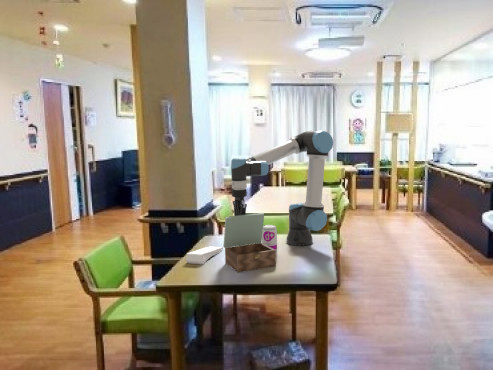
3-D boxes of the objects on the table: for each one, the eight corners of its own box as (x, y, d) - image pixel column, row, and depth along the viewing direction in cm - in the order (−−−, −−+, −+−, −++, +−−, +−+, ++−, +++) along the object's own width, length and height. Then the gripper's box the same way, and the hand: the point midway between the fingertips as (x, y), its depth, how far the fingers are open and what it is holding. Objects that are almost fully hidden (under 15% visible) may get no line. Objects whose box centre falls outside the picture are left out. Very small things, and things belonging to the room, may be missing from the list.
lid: (261, 242, 225) (260, 241, 226) (264, 213, 219) (263, 212, 220) (224, 247, 217) (223, 246, 218) (226, 218, 211) (225, 217, 212)
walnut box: (261, 257, 226) (260, 242, 225) (276, 266, 211) (276, 250, 210) (225, 263, 218) (224, 247, 217) (238, 273, 203) (238, 256, 202)
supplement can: (276, 256, 228) (275, 228, 226) (260, 255, 230) (260, 227, 228) (278, 252, 236) (277, 224, 234) (263, 251, 237) (262, 224, 235)
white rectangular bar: (209, 259, 245) (186, 268, 219) (206, 246, 246) (183, 254, 219) (225, 256, 242) (204, 264, 215) (222, 243, 242) (201, 250, 216)
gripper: (227, 187, 224) (228, 232, 227) (237, 190, 213) (238, 238, 216) (240, 186, 227) (242, 231, 230) (251, 189, 216) (252, 236, 219)
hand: (240, 234), depth 223 cm, fingers closed
